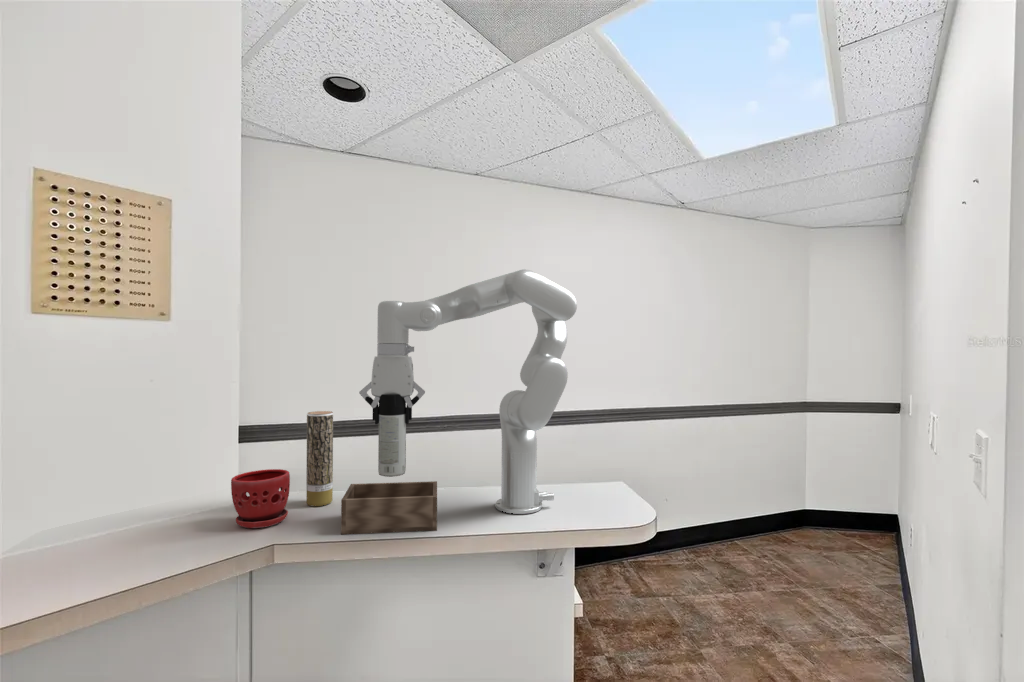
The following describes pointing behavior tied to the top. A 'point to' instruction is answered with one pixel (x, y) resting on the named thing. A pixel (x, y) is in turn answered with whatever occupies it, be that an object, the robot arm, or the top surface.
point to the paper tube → (319, 458)
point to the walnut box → (389, 508)
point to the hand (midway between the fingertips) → (392, 422)
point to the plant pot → (260, 497)
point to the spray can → (392, 435)
